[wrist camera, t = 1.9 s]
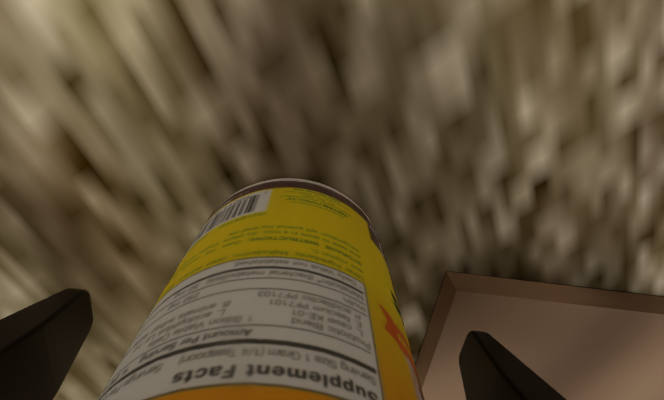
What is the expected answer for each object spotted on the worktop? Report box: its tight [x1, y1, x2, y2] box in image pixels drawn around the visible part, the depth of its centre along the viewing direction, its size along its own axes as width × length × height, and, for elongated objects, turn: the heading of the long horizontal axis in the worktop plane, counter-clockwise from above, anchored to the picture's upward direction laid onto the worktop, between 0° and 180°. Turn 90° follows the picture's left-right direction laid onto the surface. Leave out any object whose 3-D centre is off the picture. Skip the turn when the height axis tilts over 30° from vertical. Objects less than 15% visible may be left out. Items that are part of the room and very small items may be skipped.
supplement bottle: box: [98, 178, 425, 400], centre depth 7 cm, size 6×6×10 cm
